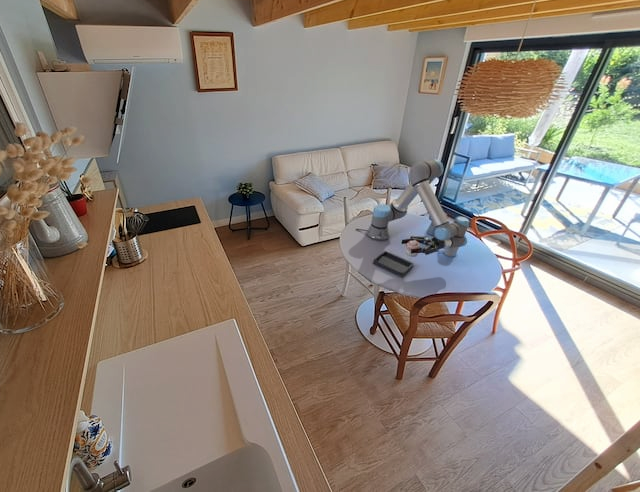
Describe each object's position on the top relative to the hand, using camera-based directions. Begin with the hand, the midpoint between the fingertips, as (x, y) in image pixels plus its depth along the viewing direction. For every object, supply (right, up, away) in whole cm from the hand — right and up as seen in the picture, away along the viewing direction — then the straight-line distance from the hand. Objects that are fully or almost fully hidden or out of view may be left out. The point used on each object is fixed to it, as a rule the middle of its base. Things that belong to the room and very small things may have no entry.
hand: (406, 246), depth 168 cm
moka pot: (+40, +6, +46) cm, 62 cm away
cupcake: (+4, -5, +4) cm, 8 cm away
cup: (+39, -6, +24) cm, 46 cm away
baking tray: (-3, -13, +13) cm, 19 cm away
